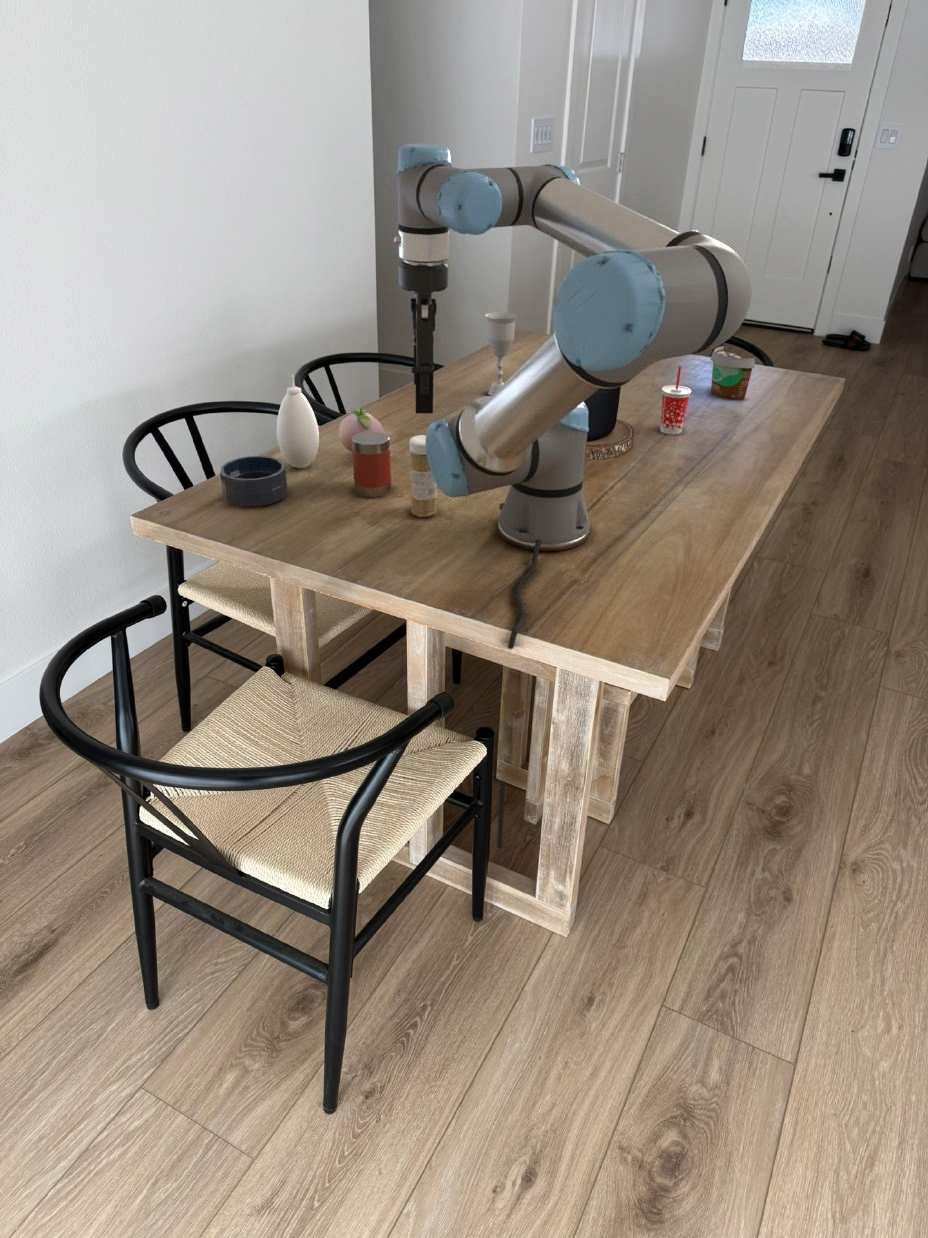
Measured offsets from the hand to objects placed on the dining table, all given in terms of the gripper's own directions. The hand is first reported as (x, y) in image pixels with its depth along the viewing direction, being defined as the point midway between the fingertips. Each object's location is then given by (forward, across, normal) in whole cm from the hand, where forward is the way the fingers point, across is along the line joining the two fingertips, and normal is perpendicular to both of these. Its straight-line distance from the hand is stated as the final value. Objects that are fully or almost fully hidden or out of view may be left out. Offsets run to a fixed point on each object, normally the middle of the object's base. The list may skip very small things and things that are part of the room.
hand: (423, 397), depth 145 cm
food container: (+21, -61, +74) cm, 98 cm away
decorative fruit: (+21, -24, -11) cm, 34 cm away
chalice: (+22, -64, +20) cm, 70 cm away
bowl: (+21, -6, -30) cm, 37 cm away
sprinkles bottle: (+20, +2, 0) cm, 20 cm away
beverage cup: (+20, -38, +55) cm, 69 cm away
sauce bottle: (+21, -20, -23) cm, 37 cm away
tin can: (+20, -8, -9) cm, 24 cm away
